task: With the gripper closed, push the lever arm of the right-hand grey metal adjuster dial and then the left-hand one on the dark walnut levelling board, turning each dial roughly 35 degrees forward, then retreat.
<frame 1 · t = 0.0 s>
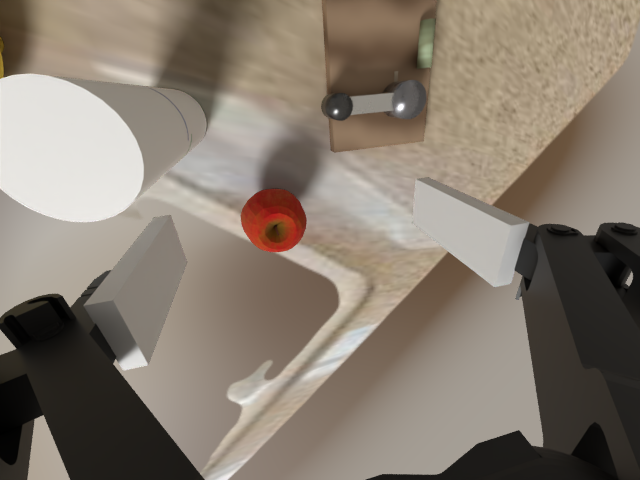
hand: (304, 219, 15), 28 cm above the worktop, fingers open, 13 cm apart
apple: (271, 203, 44), on the worktop
levelling board: (376, 50, 37), on the worktop
cylindrical container: (177, 120, 36), on the worktop
knob B: (372, 103, 36), point 4 cm above the worktop, hinge at 0.0°
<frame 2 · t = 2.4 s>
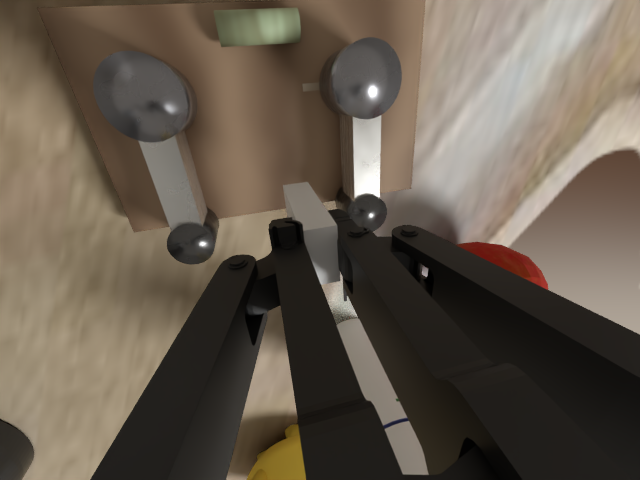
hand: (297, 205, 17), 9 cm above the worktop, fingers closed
apple: (448, 254, 34), on the worktop
teapot: (285, 442, 43), on the worktop
levelling board: (269, 119, 23), on the worktop
cylindrical container: (349, 338, 36), on the worktop
knob B: (358, 145, 21), point 4 cm above the worktop, hinge at 0.0°
knob A: (174, 168, 19), point 4 cm above the worktop, hinge at 0.0°
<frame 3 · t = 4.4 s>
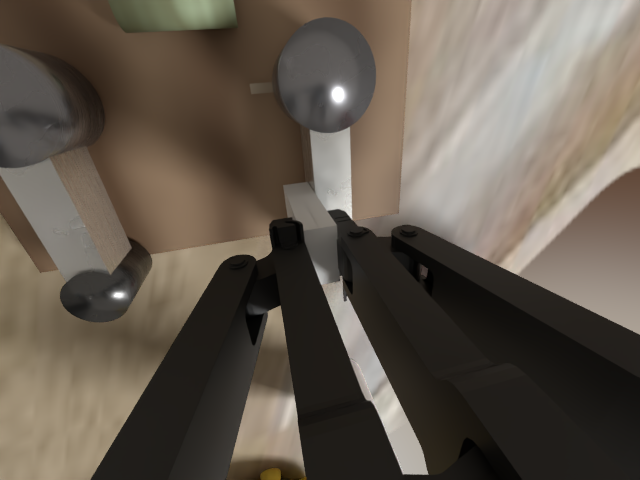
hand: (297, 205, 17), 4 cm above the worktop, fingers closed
levelling board: (214, 129, 18), on the worktop
cylindrical container: (330, 378, 31), on the worktop
knob B: (324, 165, 16), point 4 cm above the worktop, hinge at 0.0°, touching gripper
knob A: (71, 198, 14), point 4 cm above the worktop, hinge at 0.0°
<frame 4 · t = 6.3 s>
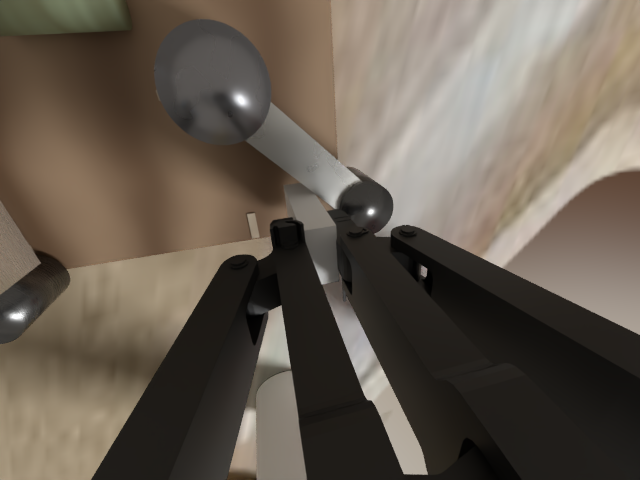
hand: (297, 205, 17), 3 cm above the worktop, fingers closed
levelling board: (133, 136, 17), on the worktop
cylindrical container: (289, 391, 30), on the worktop
knob B: (291, 147, 15), point 4 cm above the worktop, hinge at 45.4°, touching gripper
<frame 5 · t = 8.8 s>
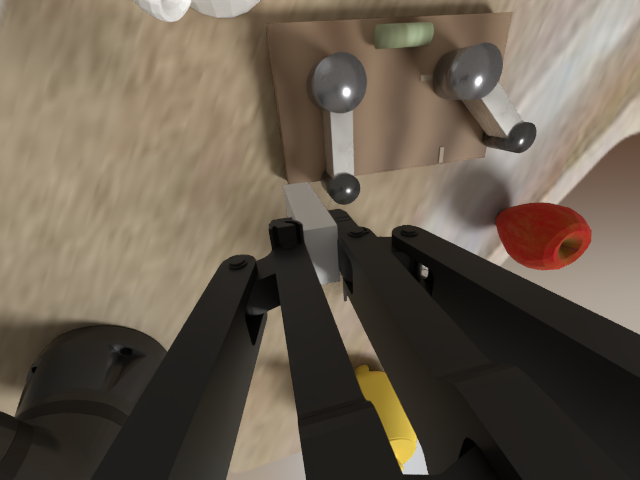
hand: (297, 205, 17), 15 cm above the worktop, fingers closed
apple: (501, 217, 42), on the worktop
teapot: (352, 382, 51), on the worktop
levelling board: (387, 102, 30), on the worktop
knob B: (486, 104, 29), point 4 cm above the worktop, hinge at 45.6°
knob A: (337, 134, 27), point 4 cm above the worktop, hinge at 0.0°
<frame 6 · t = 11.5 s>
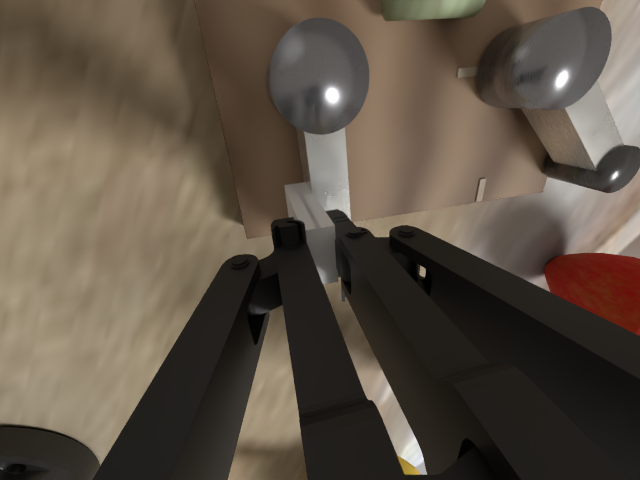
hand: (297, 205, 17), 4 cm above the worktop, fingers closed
apple: (551, 264, 31), on the worktop
teapot: (348, 461, 41), on the worktop
levelling board: (401, 110, 20), on the worktop
knob B: (563, 116, 18), point 4 cm above the worktop, hinge at 45.6°
knob A: (321, 166, 16), point 4 cm above the worktop, hinge at 2.4°, touching gripper
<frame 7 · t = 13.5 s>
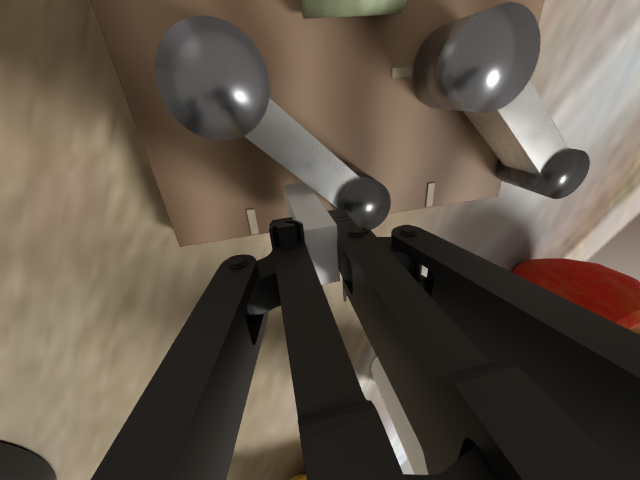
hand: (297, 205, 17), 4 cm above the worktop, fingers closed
apple: (518, 269, 30), on the worktop
levelling board: (341, 112, 19), on the worktop
cylindrical container: (399, 360, 33), on the worktop
knob B: (505, 118, 17), point 4 cm above the worktop, hinge at 45.6°
knob A: (290, 143, 15), point 4 cm above the worktop, hinge at 45.2°
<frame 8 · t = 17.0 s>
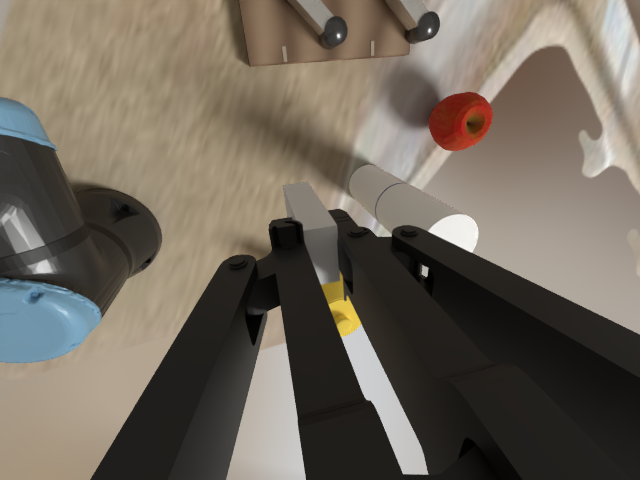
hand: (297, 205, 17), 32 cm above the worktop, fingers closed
apple: (435, 119, 50), on the worktop
teapot: (318, 276, 60), on the worktop
levelling board: (326, 1, 39), on the worktop
cylindrical container: (366, 183, 53), on the worktop
knob A: (304, 2, 35), point 4 cm above the worktop, hinge at 45.3°
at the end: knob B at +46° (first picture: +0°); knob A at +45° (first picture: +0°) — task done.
